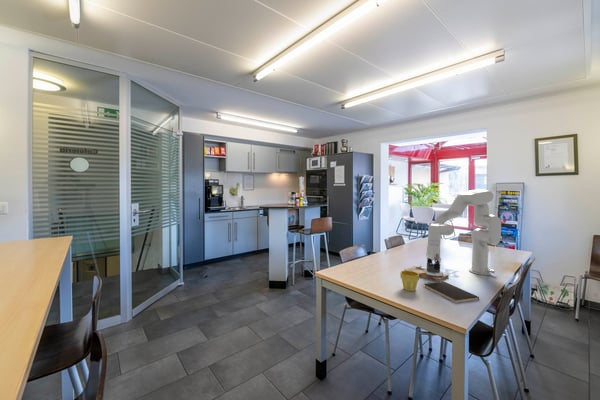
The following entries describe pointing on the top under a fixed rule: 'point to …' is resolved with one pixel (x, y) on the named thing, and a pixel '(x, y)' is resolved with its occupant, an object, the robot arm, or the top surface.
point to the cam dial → (432, 271)
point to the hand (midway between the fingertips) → (432, 267)
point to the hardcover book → (451, 292)
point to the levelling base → (420, 269)
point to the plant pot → (409, 280)
